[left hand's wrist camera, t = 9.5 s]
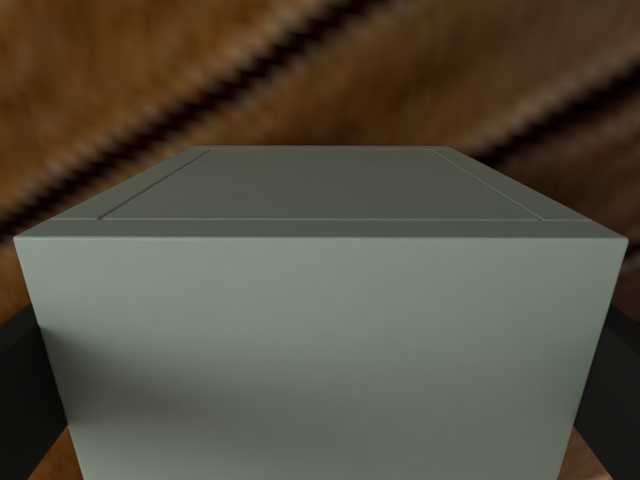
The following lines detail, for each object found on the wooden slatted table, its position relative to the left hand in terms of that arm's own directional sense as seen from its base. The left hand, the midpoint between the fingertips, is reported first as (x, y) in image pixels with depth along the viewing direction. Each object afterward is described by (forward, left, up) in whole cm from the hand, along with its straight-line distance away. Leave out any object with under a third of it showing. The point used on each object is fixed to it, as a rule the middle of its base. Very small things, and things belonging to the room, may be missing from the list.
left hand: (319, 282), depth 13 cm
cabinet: (+3, +6, -7) cm, 10 cm away
